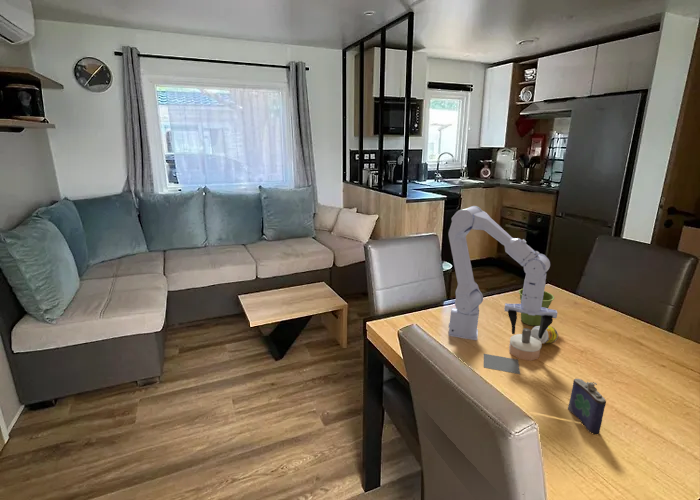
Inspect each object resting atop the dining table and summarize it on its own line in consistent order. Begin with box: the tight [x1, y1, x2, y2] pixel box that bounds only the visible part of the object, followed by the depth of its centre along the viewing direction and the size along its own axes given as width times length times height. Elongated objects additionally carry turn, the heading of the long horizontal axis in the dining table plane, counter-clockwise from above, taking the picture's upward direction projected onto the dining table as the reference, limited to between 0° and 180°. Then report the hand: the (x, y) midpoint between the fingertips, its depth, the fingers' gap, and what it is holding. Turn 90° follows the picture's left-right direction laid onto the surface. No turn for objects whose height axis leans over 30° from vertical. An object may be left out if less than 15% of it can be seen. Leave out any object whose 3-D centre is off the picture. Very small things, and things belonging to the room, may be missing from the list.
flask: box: [567, 378, 607, 435], centre depth 91 cm, size 9×3×11 cm, turn 8°
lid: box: [509, 327, 543, 352], centre depth 119 cm, size 9×9×5 cm
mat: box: [483, 353, 521, 375], centre depth 115 cm, size 10×8×1 cm
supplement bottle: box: [530, 325, 559, 344], centre depth 125 cm, size 6×6×10 cm
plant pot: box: [518, 288, 555, 327], centre depth 141 cm, size 12×12×11 cm
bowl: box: [508, 343, 541, 361], centre depth 121 cm, size 8×8×4 cm
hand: (526, 334), depth 119 cm, fingers open, 7 cm apart
